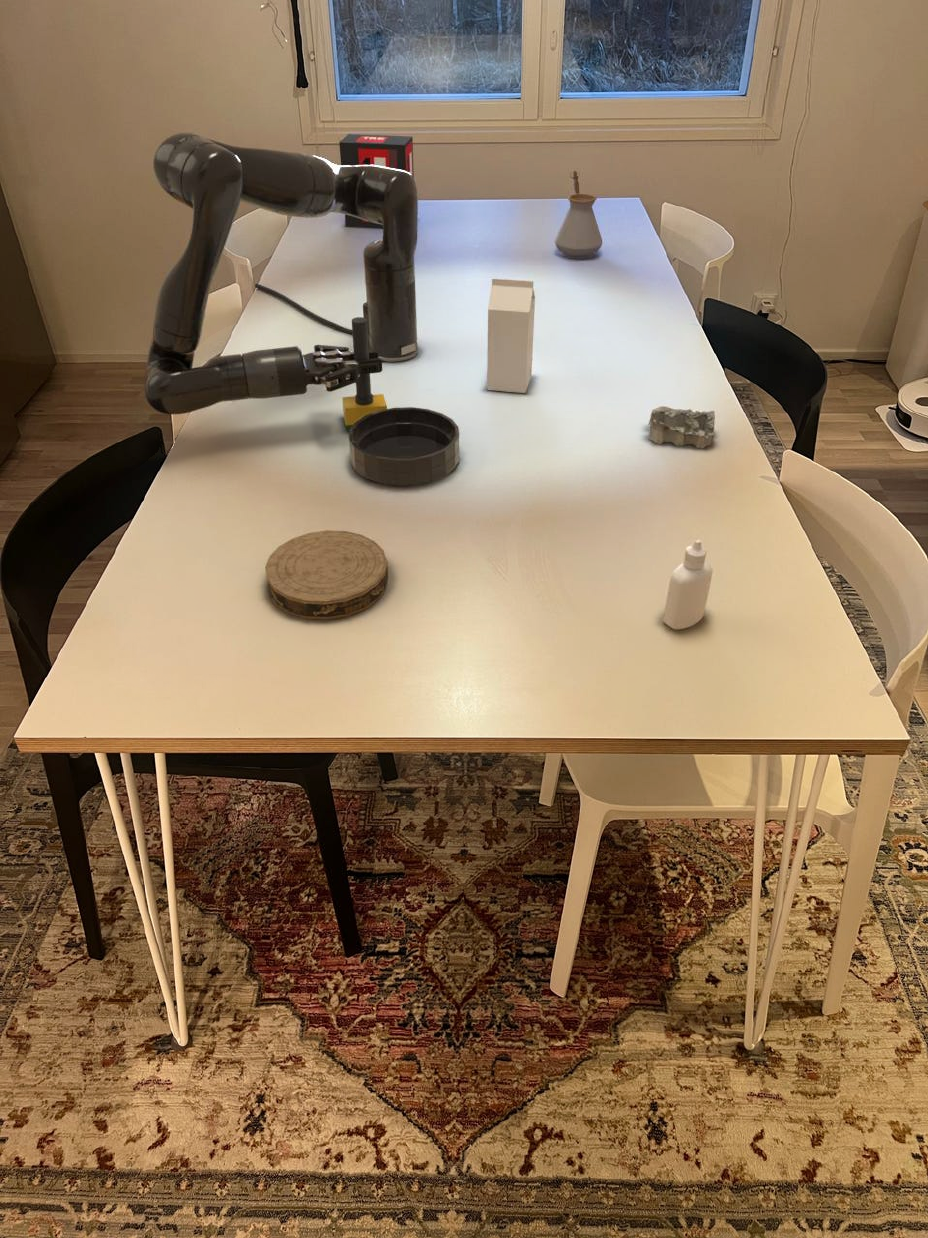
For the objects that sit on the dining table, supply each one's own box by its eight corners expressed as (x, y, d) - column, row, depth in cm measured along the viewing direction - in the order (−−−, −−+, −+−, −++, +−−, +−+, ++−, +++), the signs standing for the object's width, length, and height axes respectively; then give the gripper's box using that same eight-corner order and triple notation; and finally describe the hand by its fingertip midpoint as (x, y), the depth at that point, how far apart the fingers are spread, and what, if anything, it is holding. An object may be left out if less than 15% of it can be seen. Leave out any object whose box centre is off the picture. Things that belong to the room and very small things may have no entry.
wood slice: (286, 632, 118) (283, 613, 116) (255, 564, 129) (252, 546, 127) (405, 601, 122) (404, 582, 121) (365, 537, 134) (364, 520, 132)
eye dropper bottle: (657, 609, 121) (669, 532, 113) (699, 607, 121) (715, 529, 114) (666, 631, 118) (680, 553, 110) (709, 628, 118) (726, 550, 110)
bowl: (329, 469, 149) (326, 440, 146) (393, 425, 160) (391, 398, 157) (419, 500, 142) (418, 471, 138) (479, 452, 153) (479, 424, 150)
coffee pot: (604, 261, 224) (610, 194, 214) (556, 261, 223) (560, 194, 214) (593, 232, 240) (598, 169, 231) (548, 233, 240) (551, 169, 230)
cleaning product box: (415, 219, 249) (412, 136, 236) (407, 229, 242) (404, 144, 230) (354, 216, 251) (348, 133, 239) (345, 226, 244) (339, 142, 232)
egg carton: (644, 443, 155) (647, 420, 152) (650, 422, 161) (652, 400, 158) (710, 451, 153) (715, 428, 150) (713, 429, 158) (717, 407, 156)
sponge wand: (346, 430, 158) (338, 326, 147) (343, 418, 162) (335, 315, 150) (387, 427, 159) (382, 323, 148) (384, 415, 163) (379, 313, 152)
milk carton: (525, 394, 169) (530, 288, 157) (486, 390, 170) (488, 285, 158) (531, 377, 174) (536, 274, 162) (493, 374, 176) (495, 271, 164)
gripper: (276, 368, 143) (387, 356, 147) (266, 333, 154) (370, 322, 157) (282, 413, 148) (390, 400, 152) (272, 377, 158) (373, 365, 162)
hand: (379, 361), depth 154 cm, fingers closed on sponge wand, 2 cm apart
